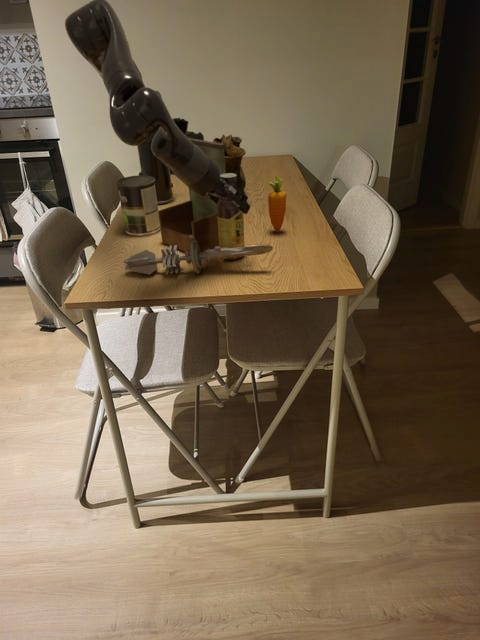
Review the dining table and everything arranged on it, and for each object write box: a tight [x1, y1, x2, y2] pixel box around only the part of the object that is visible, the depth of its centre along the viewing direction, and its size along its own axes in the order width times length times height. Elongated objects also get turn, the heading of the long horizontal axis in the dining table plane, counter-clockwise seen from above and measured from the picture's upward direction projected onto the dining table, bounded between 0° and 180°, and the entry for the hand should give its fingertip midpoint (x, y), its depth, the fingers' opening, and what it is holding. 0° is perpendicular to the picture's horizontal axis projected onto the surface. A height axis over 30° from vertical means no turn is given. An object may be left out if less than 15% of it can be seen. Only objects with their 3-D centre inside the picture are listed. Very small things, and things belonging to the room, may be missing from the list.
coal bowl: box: [172, 117, 205, 141], centre depth 187 cm, size 20×20×19 cm
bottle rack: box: [158, 138, 226, 253], centre depth 119 cm, size 14×12×25 cm
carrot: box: [267, 175, 287, 233], centre depth 126 cm, size 5×5×15 cm
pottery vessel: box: [212, 134, 247, 195], centre depth 153 cm, size 25×11×20 cm, turn 3°
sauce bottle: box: [217, 173, 245, 261], centre depth 113 cm, size 7×6×20 cm
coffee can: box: [116, 174, 161, 237], centre depth 132 cm, size 10×10×14 cm
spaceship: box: [123, 239, 274, 276], centre depth 109 cm, size 8×35×8 cm
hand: (234, 206), depth 113 cm, fingers open, 8 cm apart
